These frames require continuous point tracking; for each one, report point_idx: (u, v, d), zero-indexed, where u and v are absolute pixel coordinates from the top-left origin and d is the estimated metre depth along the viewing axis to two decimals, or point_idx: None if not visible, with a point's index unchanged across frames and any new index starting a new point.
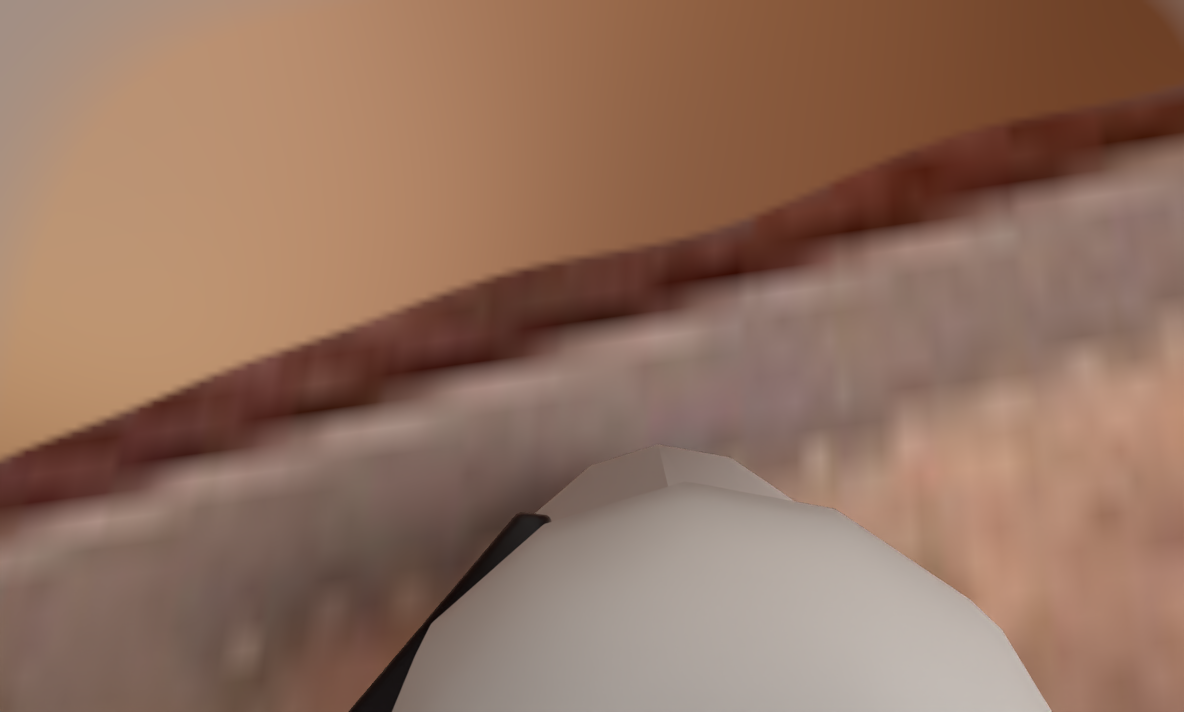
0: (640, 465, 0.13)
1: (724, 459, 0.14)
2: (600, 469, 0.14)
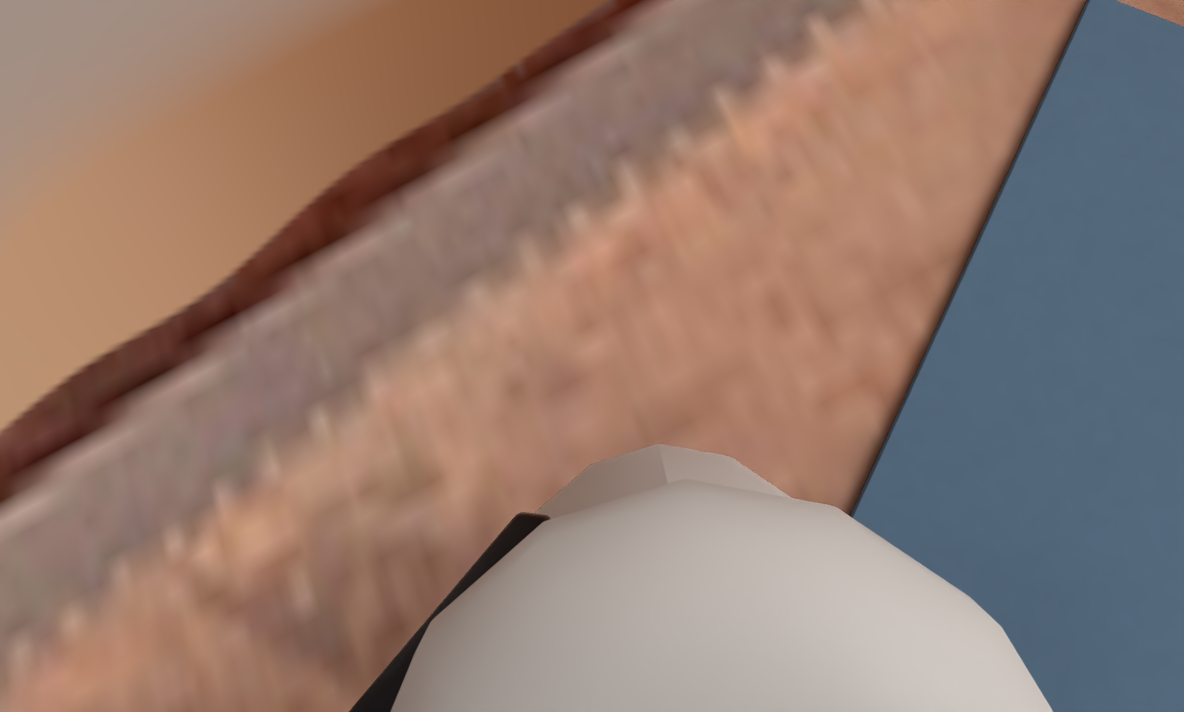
0: (640, 464, 0.13)
1: (724, 458, 0.14)
2: (600, 468, 0.14)
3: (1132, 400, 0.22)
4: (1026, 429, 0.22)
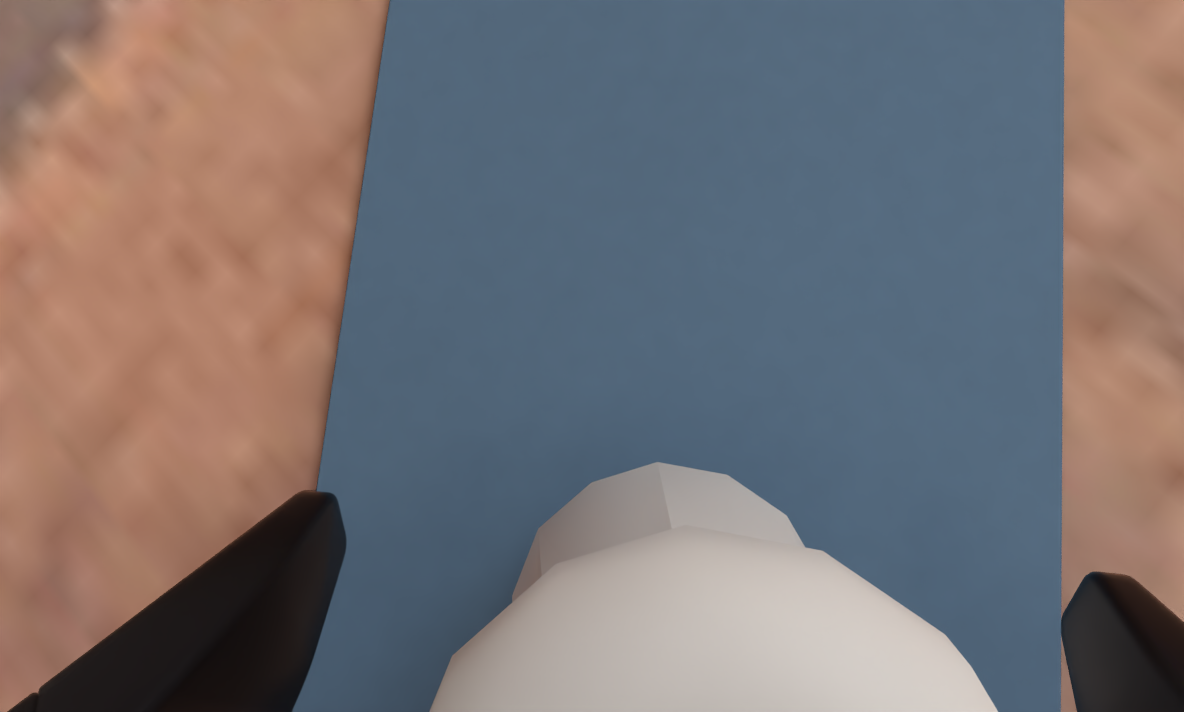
0: (640, 484, 0.13)
1: (721, 477, 0.14)
2: (601, 487, 0.14)
3: (582, 214, 0.18)
4: (480, 289, 0.18)
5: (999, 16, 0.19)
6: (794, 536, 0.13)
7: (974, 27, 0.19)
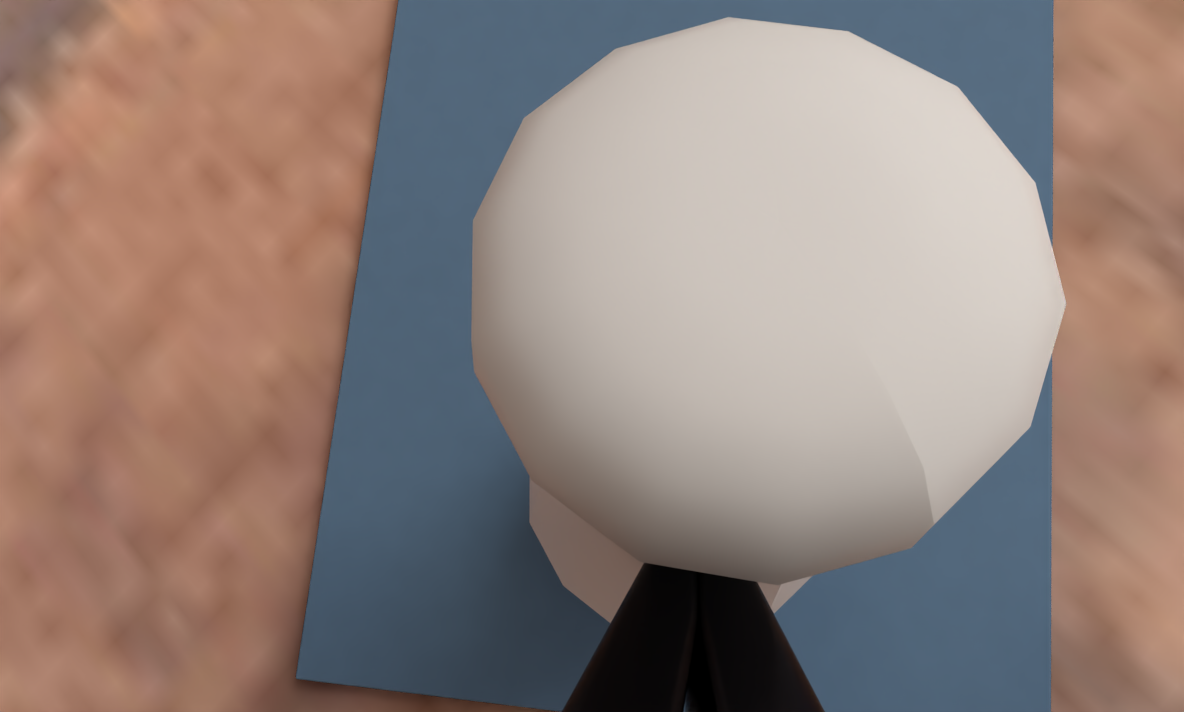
0: None
1: None
2: None
3: None
4: None
5: None
6: None
7: None
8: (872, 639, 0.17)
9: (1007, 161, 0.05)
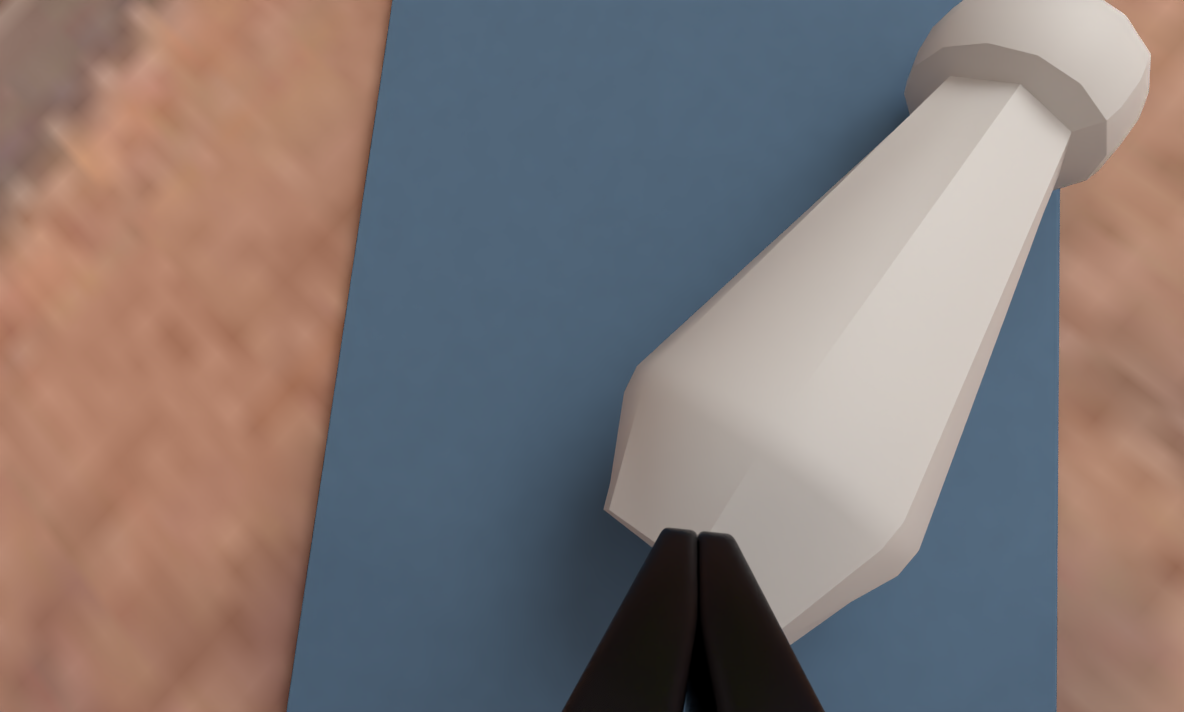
0: None
1: None
2: None
3: (575, 297, 0.18)
4: (472, 373, 0.18)
5: None
6: None
7: None
8: None
9: None
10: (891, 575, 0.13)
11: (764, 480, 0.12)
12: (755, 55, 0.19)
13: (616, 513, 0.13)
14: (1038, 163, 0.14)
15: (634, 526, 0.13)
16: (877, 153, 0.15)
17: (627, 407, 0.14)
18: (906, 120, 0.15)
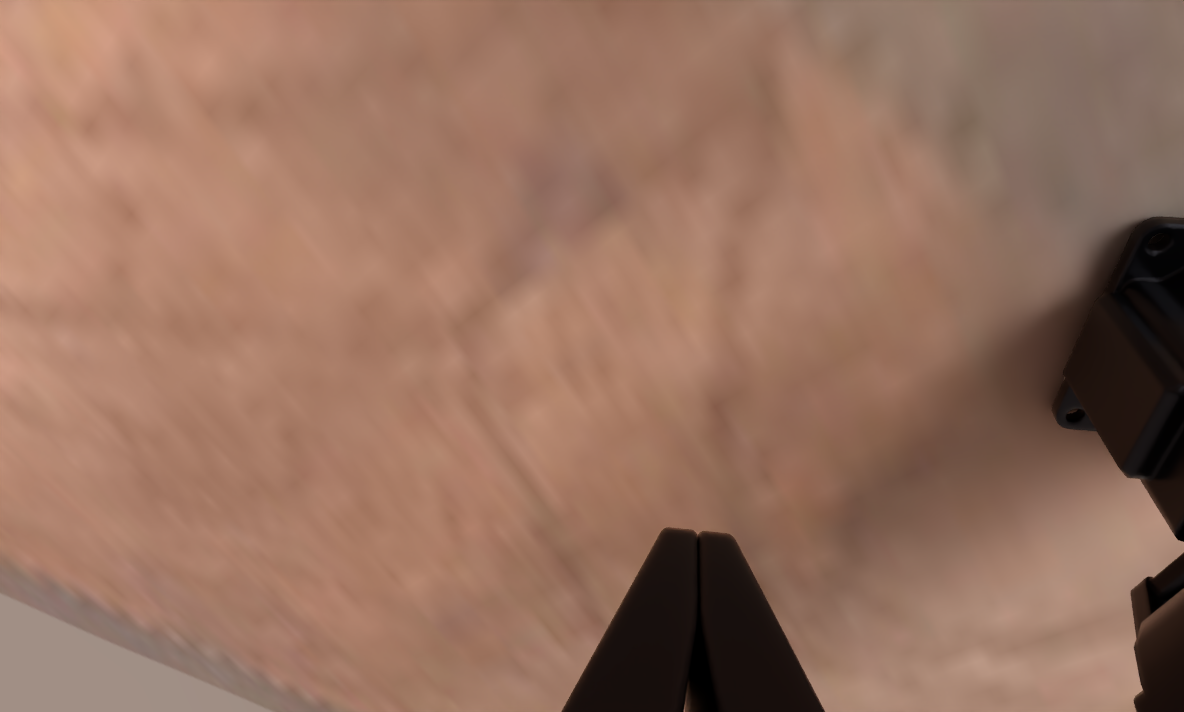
0: None
1: None
2: None
3: None
4: None
5: None
6: None
7: None
8: None
9: None
10: None
11: None
12: None
13: None
14: None
15: None
16: None
17: None
18: None
